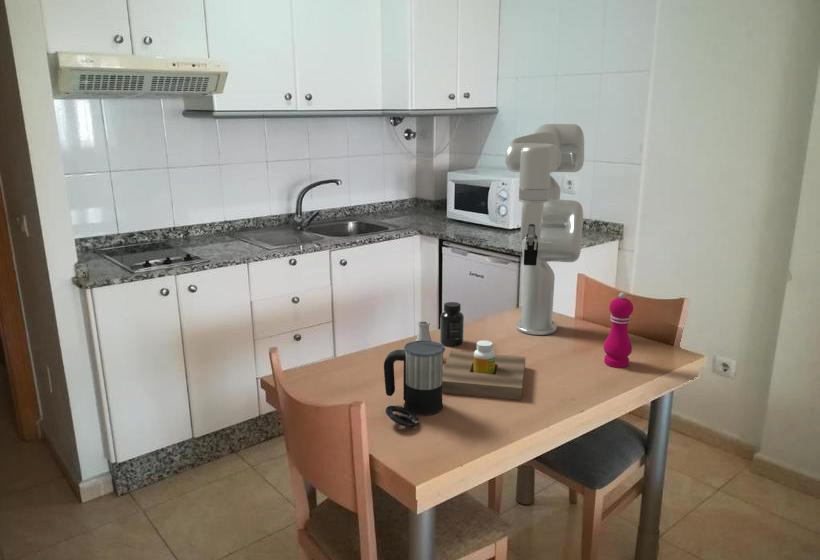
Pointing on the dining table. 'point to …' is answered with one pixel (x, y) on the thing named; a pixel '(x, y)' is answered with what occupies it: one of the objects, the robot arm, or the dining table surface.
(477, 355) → the supplement bottle
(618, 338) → the pepper mill
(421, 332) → the flask
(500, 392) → the block
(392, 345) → the dining table surface
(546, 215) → the robot arm
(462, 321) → the supplement bottle
